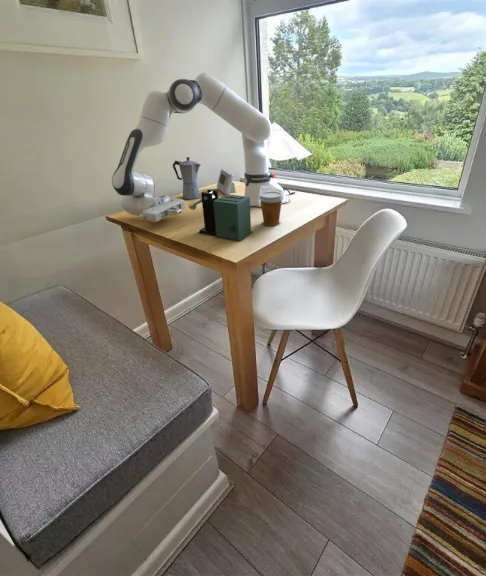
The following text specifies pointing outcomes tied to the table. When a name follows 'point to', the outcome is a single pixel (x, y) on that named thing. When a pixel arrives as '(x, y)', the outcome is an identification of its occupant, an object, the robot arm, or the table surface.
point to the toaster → (232, 217)
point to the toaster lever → (193, 205)
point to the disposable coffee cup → (271, 207)
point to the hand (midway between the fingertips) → (179, 212)
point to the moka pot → (188, 178)
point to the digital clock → (226, 182)
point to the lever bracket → (209, 212)
